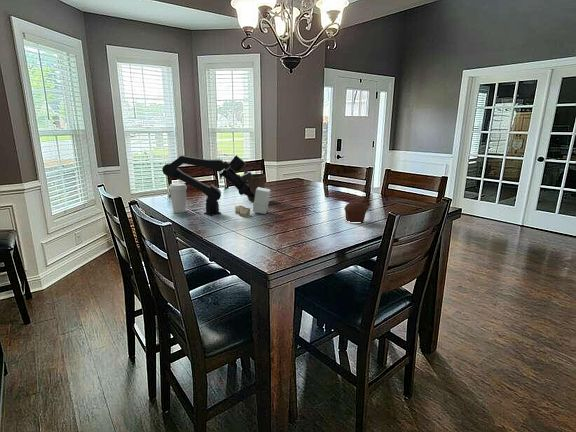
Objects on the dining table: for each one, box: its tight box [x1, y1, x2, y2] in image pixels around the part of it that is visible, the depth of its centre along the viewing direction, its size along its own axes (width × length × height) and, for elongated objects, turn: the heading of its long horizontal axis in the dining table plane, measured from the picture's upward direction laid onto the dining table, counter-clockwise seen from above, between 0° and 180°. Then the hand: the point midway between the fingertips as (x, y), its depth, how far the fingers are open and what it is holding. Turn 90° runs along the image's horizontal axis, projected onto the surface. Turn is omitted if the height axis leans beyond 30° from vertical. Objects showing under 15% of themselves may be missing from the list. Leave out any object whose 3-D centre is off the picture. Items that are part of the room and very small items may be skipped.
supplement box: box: [252, 187, 272, 215], centre depth 185 cm, size 7×7×13 cm
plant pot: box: [246, 173, 267, 202], centre depth 215 cm, size 15×15×16 cm
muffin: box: [344, 201, 369, 223], centre depth 171 cm, size 12×11×10 cm
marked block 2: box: [239, 207, 251, 218], centre depth 179 cm, size 4×4×4 cm
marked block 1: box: [234, 205, 246, 216], centre depth 184 cm, size 4×4×4 cm
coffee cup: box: [168, 182, 188, 214], centre depth 185 cm, size 10×10×15 cm
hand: (255, 197), depth 184 cm, fingers closed
